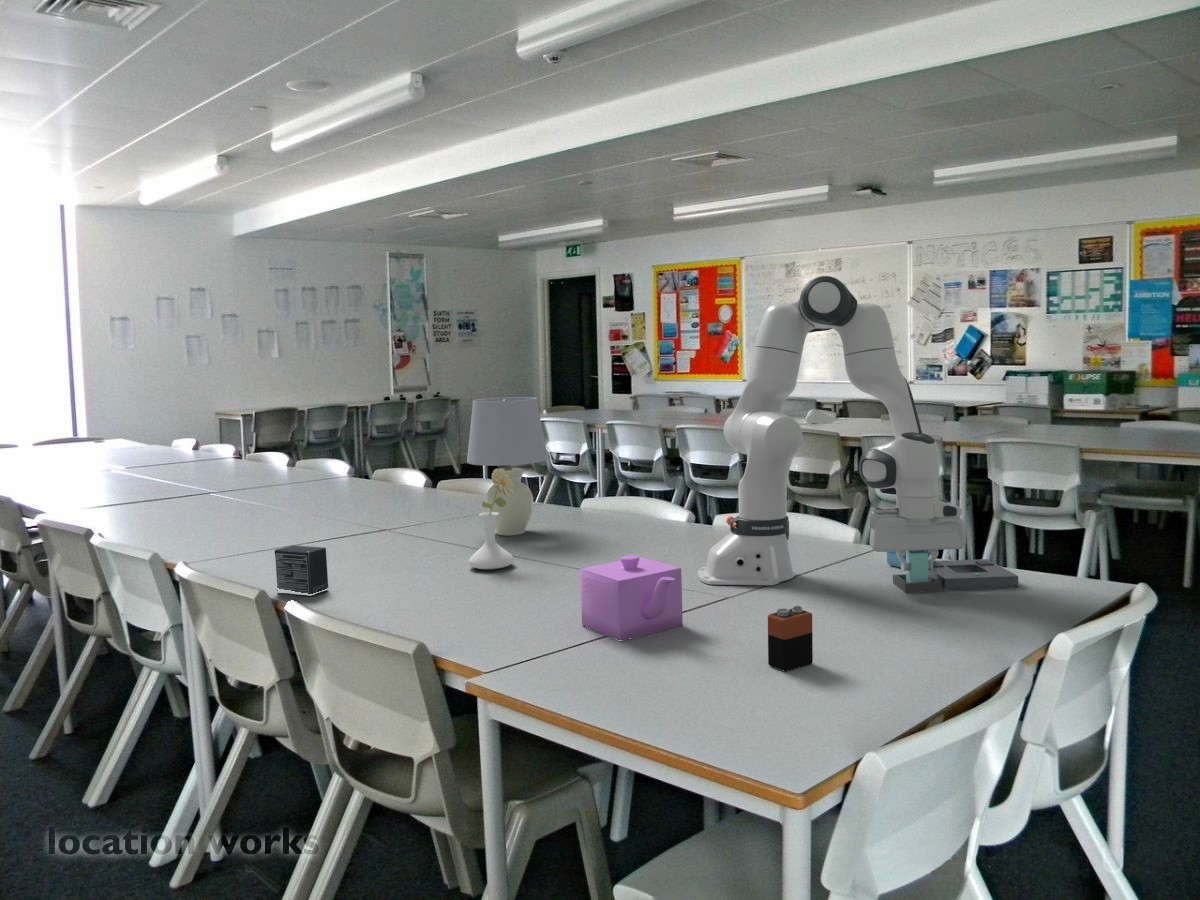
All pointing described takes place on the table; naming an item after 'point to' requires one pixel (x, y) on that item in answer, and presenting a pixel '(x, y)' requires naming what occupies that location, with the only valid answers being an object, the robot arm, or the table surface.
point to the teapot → (631, 597)
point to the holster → (917, 584)
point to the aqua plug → (917, 566)
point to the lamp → (507, 453)
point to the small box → (301, 569)
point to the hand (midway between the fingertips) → (917, 569)
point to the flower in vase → (491, 551)
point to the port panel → (972, 574)
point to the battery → (790, 638)
